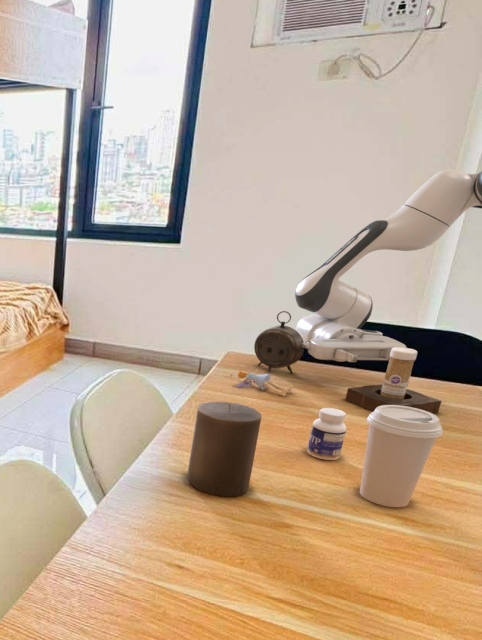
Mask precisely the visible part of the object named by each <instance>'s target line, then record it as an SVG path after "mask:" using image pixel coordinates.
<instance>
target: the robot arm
mask: <svg viewBox="0 0 482 640" xmlns="http://www.w3.org/2000/svg"><path fill="white" fill-rule="evenodd" d="M470 208H475V209H481V210H482V170H481V171H480V172H476V173H468V172H466V171H463V170H460V169H453V168H452V169H450V168H449V169H443V170H440V171H438V172H436V173H435V174H434V175H432V176H431V177H430V178H429V179H428V180H426V181H425V182H423V184H422V185H421V186H420V187H418V189H417V190H415V191H414V193H412V194H411V195H410V197H409V198H408V199H407V200H406V201H405V202H404V203H403V204H402V205H401V207H400V208H399V209H397V210H396V211H395V212H393V213H392V214H391V215H389V216H388V217H386V218H383V219H379V220H374V221H372V222H370V223H368V224H367V225H366V226H364V227H363V228H362V229H361V230H359V231H358V232H357V233H356V234H355V235H354V236H353V237H351V238H350V239H349V240H348V241H346V242H345V244H343V245H342V246H341V247H340V248H339V249H337V251H336V252H335V253H334V254H332V255H331V256H330V257H329V258H328V259H327V260H325V262H324V263H322V264H321V265H320V266H319V267H317V268H316V269H315V270H313V271H311V272H310V273H309V274H308V275H306V276H305V277H304V278H302V279H301V280H300V281H299V283H298V284H297V285H296V287H295V289H294V297H295V302H296V304H297V306H298V308H300V309H303V310H305V311H308V312H310V313H313V314H310V315H305V316H304V317H302V318H301V319H299V321H297V324H296V326H295V330H296V331H297V332H298V333H299V334H300V335H301V337H302V339H303V342H304V343H302V346H303V347H304V349H307V353H308V354H309V355H311V357H313V358H314V359H317V360H322V361H324V360H325V361H335V362H340V363H341V362H349V363H357V362H358V361H388V362H389V360H390V352H391V349H392V348H394V347H403V348H407V346H406V344H404V343H403V342H400V341H398V340H396V339H394V338H391V337H389V336H385V335H383V333H382V332H381V331H378V330H371V329H370V330H369V329H361V328H362V327H364V326H365V325H366V323H367V322H368V320H369V319H370V317H371V316H372V313H373V312H372V311H373V307H374V306H373V304H374V303H373V300H372V297H371V296H370V294H367V293H365V292H364V291H361V290H360V289H358V288H355V287H353V286H351V285H349V284H347V283H345V282H343V281H341V280H340V278H341V277H342V276H343V275H345V273H347V272H348V271H349V270H350V269H351V268H353V266H355V265H356V264H357V263H358V262H359V261H360V260H361V259H363V258H364V257H365V256H367V255H368V254H370V253H372V252H376V251H381V250H383V251H384V250H391V251H400V252H412V251H419V250H422V249H425V248H428V247H430V246H432V245H433V244H434V243H436V242H437V241H438V240H439V239H440V238H441V237H442V236H443V235H444V234H445V233H446V232H447V231H448V230H449V229H450V227H452V225H453V224H454V223H455V222H456V221H457V220H458V219H459V218H460V217H461V215H463V214H464V213H465V212H466V211H468V210H469V209H470Z"/></svg>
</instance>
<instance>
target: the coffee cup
mask: <svg viewBox="0 0 482 640" xmlns="http://www.w3.org/2000/svg"><path fill="white" fill-rule="evenodd" d="M366 423H368V430H367V431H368V432H367V439H366V445H365V446H366V447H365V454H364V458H363V459H364V460H363V467H362V473H361V474H362V475H361V481H360V488H359V494H360V496H361V497H362V498H364V499H365V500H367V501H369V502H371V503H373V504H376V505H379V506H383V507H387V508H388V507H389V508H404V507H407V506H408V505H409V503H410V501H411V498H412V496H413V493H414V492H415V489H416V486H417V484H418V482H419V479H420V477H421V475H422V472H423V470H424V468H425V466H426V463H427V461H428V459H429V456H430V454H431V451H432V450H433V447H434V445H435V443H436V440H437V439H438V438H439V437H442V435H443V427H442V425H441V423H440V418H439V417H438V415H436V414H432V413H430V412H427V411H424V410H421V409H417V408H413V407H407V406H400V405H382V406H378V407H377V408H376V409H375V411H371V412H370V413H369V415H368V416H367V418H366Z"/></svg>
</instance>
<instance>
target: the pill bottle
mask: <svg viewBox="0 0 482 640" xmlns="http://www.w3.org/2000/svg"><path fill="white" fill-rule="evenodd" d="M346 415H347V413H346V412H345V411H343V410H341V409H338V408H332V407H323V408H322V407H321V409H320V410H319V414H318V418H317V419H315V420H314V421H313V423H312V426H311V430H310V436H309V439H308V444H307V449H306V451H307V453H308V454H309V455H310V456H312V457H314V458H316V459H320V460H325V461H326V460H327V461H335V460H338V459H339V458H340V457H341V453H342V448H343V444H344V441H345V436H346V433H347V425H346V424H345V423H344V422H345V420H346Z"/></svg>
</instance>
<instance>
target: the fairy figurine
mask: <svg viewBox="0 0 482 640" xmlns="http://www.w3.org/2000/svg"><path fill="white" fill-rule="evenodd" d="M257 373H258V369H256V370H255V372H245V371H243V370H239V371H238V372H237V377H238V379H237V383H238V384H237V385H236V386H235V387H238V388H240V387H244V386H245V387H248V386H250V385H251V384H253V383H254V384H256V385H257V386H258V387H259V388H260V389H261V390H262V391H263V390H265V389H266V388H268V389H269V390H270V391H271V392H273V393H276V394H278V395H281V396H283V397H285V396H286V395H287V393H288V394H291V392H292V389H293V385H292V384H291V385H290V386H289V387H288V388H287V387H283V386H282V385H279V384H277V383H275V382H273V381H271V374H270V373H265V374H257ZM256 374H257V375H256ZM239 382H240V383H239Z"/></svg>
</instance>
